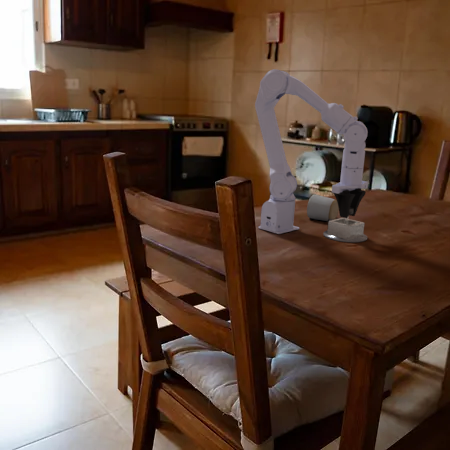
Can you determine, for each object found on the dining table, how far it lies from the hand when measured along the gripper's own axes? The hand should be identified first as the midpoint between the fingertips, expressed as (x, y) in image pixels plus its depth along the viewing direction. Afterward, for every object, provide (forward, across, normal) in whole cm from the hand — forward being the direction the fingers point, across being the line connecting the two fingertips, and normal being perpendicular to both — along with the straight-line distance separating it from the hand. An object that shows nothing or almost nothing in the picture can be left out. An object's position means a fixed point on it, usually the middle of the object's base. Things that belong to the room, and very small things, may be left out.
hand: (347, 216), depth 141 cm
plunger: (+4, 0, 0) cm, 4 cm away
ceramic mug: (+6, +12, +16) cm, 21 cm away
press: (+6, 0, 0) cm, 6 cm away
